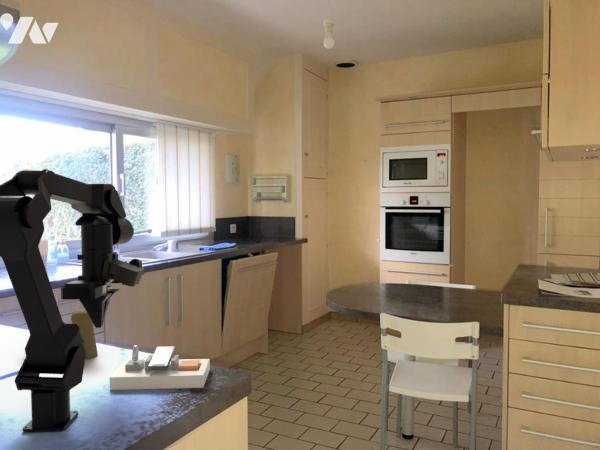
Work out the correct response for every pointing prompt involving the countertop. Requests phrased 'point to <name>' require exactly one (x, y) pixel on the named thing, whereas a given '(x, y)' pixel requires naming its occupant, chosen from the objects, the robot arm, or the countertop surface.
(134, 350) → the toggle lever
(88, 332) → the cork
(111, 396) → the countertop surface
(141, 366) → the switch panel
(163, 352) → the rocker switch
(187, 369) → the push button
